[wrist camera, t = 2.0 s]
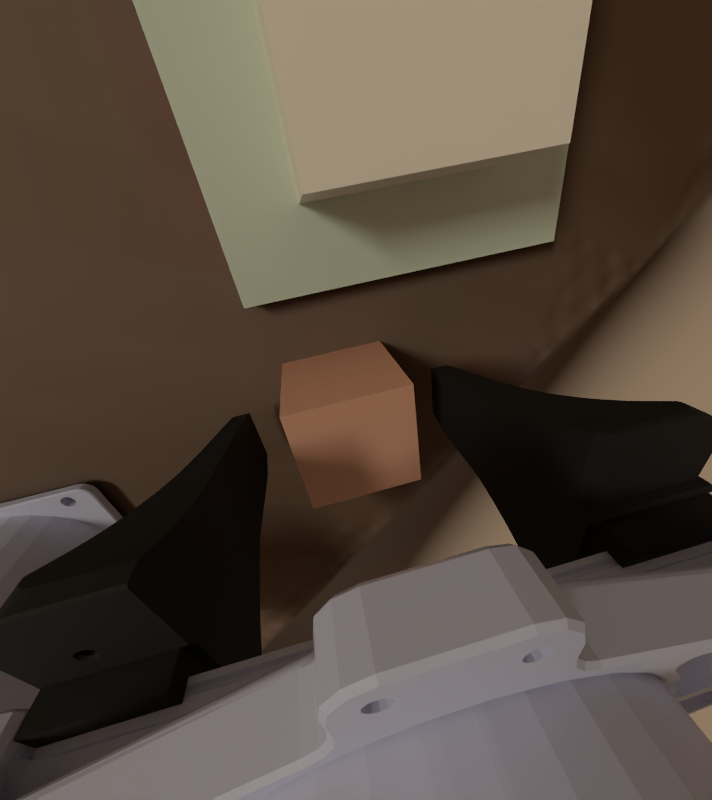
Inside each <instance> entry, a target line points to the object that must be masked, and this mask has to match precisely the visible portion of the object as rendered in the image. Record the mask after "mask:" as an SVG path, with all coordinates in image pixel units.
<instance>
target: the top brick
mask: <svg viewBox="0 0 712 800" xmlns="http://www.w3.org/2000/svg"><path fill="white" fill-rule="evenodd" d="M279 418H280V420H281V423H282V426H283V428H284V431H285V434H286V436H287V439H288V442H289V445H290V447H291V450H292V453H293V455H294V458H295V461H296V463H297V466H298V469H299V471H300V474H301V477H302V479H303V482H304V485H305V487H306V490H307V493H308V496H309V498H310V501H311V504H312V506H313V509H315V508H318V507H322V506H326V505H329V504H333V503H337V502H340V501H344V500H348V499H351V498H355V497H359V496H362V495H366V494H370V493H373V492H377V491H381V490H384V489H388V488H392V487H395V486H399V485H402V484H406V483H410V482H413V481H417V480H421V471H420V458H419V446H418V433H417V421H416V408H415V396H414V384H413V383H412V382H411V380H410V379H409V378H408V376H407V375H406V374H405V373H404V371H403V370H402V369H401V368H400V366H399V365H398V364H397V362H396V361H395V360H394V359H393V357H392V356H391V355H390V353H389V352H388V351H387V350H386V348H385V347H384V346H383V345H382V343H381V342H380V341H377V342H373V343H369V344H365V345H360V346H356V347H352V348H348V349H343V350H339V351H335V352H331V353H326V354H322V355H318V356H313V357H309V358H305V359H301V360H296V361H292V362H288V363H284V364H282V379H281V398H280V416H279Z"/></svg>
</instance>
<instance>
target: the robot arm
mask: <svg viewBox="0 0 712 800" xmlns="http://www.w3.org/2000/svg"><path fill="white" fill-rule="evenodd" d="M431 378H432V401H433V413H434V415H435V417H436V419H437V420H438V422H439V424H440V426H441V428H442V429H443V431H444V432H445V434H446V435H447V436H448V438H449V439H450V440H451V442H452V443H453V444H454V446H455V447H456V448H457V450H458V451H459V452H460V453H461V455H462V456H463V457H464V459H465V460H466V461H467V462H468V464H469V465H470V466H471V467H472V469H473V470H474V471H475V473H476V474H477V476H478V477H479V479H480V480H481V482H482V483H483V485H484V487H485V488H486V490H487V492H488V493H489V495H490V496H491V498H492V499H493V501H494V503H495V505H496V507H497V508H498V510H499V512H500V514H501V515H502V517H503V519H504V520H505V522H506V524H507V526H508V528H509V530H510V531H511V533H512V535H513V537H514V539H515V541H516V543H517V544H518V546H516V545H512V544H503V545H495V546H487V547H482V548H479V549H475V550H472V551H468V552H465V553H462V554H458V555H455V556H451V557H448V558H445V559H441V560H437V561H434V562H431V563H427V564H424V565H420V566H417V567H414V568H410V569H406V570H403V571H400V572H397V573H393V574H389V575H386V576H383V577H379V578H376V579H372V580H369V581H365V582H362V583H359V584H356V585H354V586H352V587H350V588H348V589H346V590H343V591H341V592H339V593H337V594H335V595H333V596H332V597H331V598H330V599H329V600H328V601H327V602H326V603H325V604H324V605H323V606H322V607H321V609H320V610H319V611H318V612H317V613H316V614H315V616H314V620H313V640H310V641H306V642H303V643H300V644H297V645H293V646H290V647H287V648H283V649H280V650H277V651H274V652H270V653H267V654H263V655H262V648H261V627H260V534H261V525H262V517H263V509H264V502H265V494H266V486H267V477H268V470H267V453H266V450H265V448H264V446H263V443H262V441H261V439H260V436H259V434H258V432H257V430H256V427H255V425H254V423H253V420H252V418H251V416H250V413H249V414H245V415H241V416H236V417H233V418H232V419H231V420H230V421H229V422H228V423H227V424H226V425H225V426H224V427H223V428H222V429H221V430H220V432H219V433H218V434H217V435H216V436H215V437H214V438H213V439H212V440H211V441H210V442H209V444H208V445H207V446H206V447H205V448H204V449H203V450H202V451H201V452H200V453H199V454H198V455H197V456H196V457H195V458H194V459H193V460H192V461H191V462H190V463H189V464H188V465H187V466H186V467H185V468H184V469H183V470H182V471H181V472H180V473H179V474H178V475H177V476H175V477H174V478H173V479H172V480H171V481H170V482H169V483H167V484H166V485H165V486H164V487H163V488H161V489H160V490H159V491H158V492H156V493H155V494H154V495H153V496H151V497H150V498H149V499H147V500H146V501H145V502H143V503H142V504H141V505H139V506H138V507H137V508H135V509H134V510H132V511H131V512H130V513H128V514H127V515H126V516H124V517H122V516H121V515H120V514H119V512H118V511H117V510H116V509H115V508H114V507H113V506H112V505H111V503H110V502H109V501H108V500H107V499H106V498H105V497H104V496H103V495H102V493H101V492H100V491H99V490H98V489H97V488H96V487H94V486H92V485H90V484H77V485H73V486H69V487H65V488H61V489H57V490H53V491H49V492H45V493H41V494H37V495H33V496H29V497H25V498H21V499H17V500H13V501H9V502H5V503H1V504H0V800H712V743H711V742H710V740H709V739H708V738H707V737H706V735H705V734H704V733H703V732H702V730H701V729H700V728H699V727H698V726H697V725H696V723H695V722H694V721H693V719H692V718H691V717H690V716H689V714H691V713H694V712H696V711H698V710H701V709H703V708H706V707H708V706H711V705H712V495H710V494H709V492H711V491H712V485H711V484H710V483H709V482H707V481H705V480H704V479H702V478H701V477H699V476H698V475H699V474H700V472H701V470H702V468H703V467H704V465H705V464H706V462H707V460H708V459H709V457H710V455H711V454H712V416H711V415H709V414H707V413H705V412H703V411H700V410H698V409H696V408H694V407H691V406H689V405H687V404H685V403H682V402H678V401H617V400H600V399H588V398H578V397H571V396H563V395H555V394H549V393H544V392H539V391H533V390H528V389H524V388H520V387H516V386H512V385H508V384H505V383H501V382H498V381H494V380H491V379H488V378H485V377H482V376H479V375H476V374H473V373H470V372H467V371H464V370H460V369H457V368H454V367H450V366H442V367H438V368H434V369H431Z"/></svg>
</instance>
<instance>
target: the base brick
mask: <svg viewBox="0 0 712 800" xmlns="http://www.w3.org/2000/svg"><path fill="white" fill-rule="evenodd" d="M253 4H254V9H255V13H256V17H257V22H258V26H259V31H260V35H261V39H262V44H263V48H264V53H265V57H266V62H267V66H268V70H269V75H270V79H271V84H272V88H273V92H274V97H275V101H276V106H277V110H278V114H279V119H280V123H281V128H282V132H283V137H284V141H285V145H286V150H287V154H288V159H289V163H290V167H291V172H292V176H293V181H294V185H295V189H296V194H297V198H298V203H299V204H301V203H306V202H312V201H317V200H322V199H327V198H332V197H337V196H342V195H347V194H352V193H358V192H363V191H368V190H373V189H378V188H383V187H388V186H393V185H399V184H404V183H409V182H414V181H419V180H424V179H429V178H434V177H439V176H445V175H450V174H455V173H460V172H465V171H470V170H475V169H480V168H485V167H491V166H495V165H498V164H501V163H505V162H508V161H511V160H515V159H518V158H521V157H525V156H528V155H531V154H535V153H538V152H541V151H545V150H548V149H551V148H555V147H558V146H561V145H565V144H568V143H570V141H571V134H572V128H573V121H574V115H575V109H576V102H577V96H578V89H579V83H580V77H581V70H582V64H583V57H584V51H585V45H586V38H587V32H588V26H589V19H590V13H591V6H592V0H253Z"/></svg>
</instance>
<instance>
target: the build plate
mask: <svg viewBox="0 0 712 800" xmlns="http://www.w3.org/2000/svg"><path fill="white" fill-rule="evenodd" d="M133 3H134V6H135V9H136V11H137V14H138V17H139V20H140V22H141V25H142V28H143V31H144V34H145V36H146V39H147V42H148V45H149V47H150V50H151V53H152V56H153V58H154V61H155V64H156V67H157V69H158V72H159V75H160V78H161V80H162V83H163V86H164V89H165V91H166V94H167V97H168V100H169V103H170V105H171V108H172V111H173V114H174V116H175V119H176V122H177V125H178V127H179V130H180V133H181V136H182V138H183V141H184V144H185V147H186V149H187V152H188V155H189V158H190V161H191V163H192V166H193V169H194V172H195V174H196V177H197V180H198V183H199V185H200V188H201V191H202V194H203V196H204V199H205V202H206V205H207V207H208V210H209V213H210V216H211V218H212V221H213V224H214V227H215V230H216V232H217V235H218V238H219V241H220V243H221V246H222V249H223V252H224V254H225V257H226V260H227V263H228V265H229V268H230V271H231V274H232V276H233V279H234V282H235V285H236V288H237V290H238V293H239V296H240V299H241V301H242V304H243V307H244V308H249V307H253V306H258V305H263V304H267V303H272V302H276V301H281V300H285V299H290V298H295V297H299V296H304V295H308V294H313V293H318V292H322V291H327V290H331V289H336V288H340V287H345V286H350V285H354V284H359V283H363V282H368V281H373V280H377V279H382V278H386V277H391V276H395V275H400V274H405V273H409V272H414V271H418V270H423V269H428V268H432V267H437V266H441V265H446V264H451V263H455V262H460V261H464V260H469V259H473V258H478V257H483V256H487V255H492V254H496V253H501V252H506V251H510V250H515V249H519V248H524V247H528V246H533V245H538V244H542V243H547V242H551V241H554V237H555V230H556V224H557V217H558V211H559V204H560V198H561V191H562V185H563V179H564V172H565V166H566V159H567V153H568V146H569V143H568V144H565V145H561V146H558V147H555V148H551V149H548V150H545V151H541V152H538V153H535V154H531V155H528V156H525V157H521V158H518V159H515V160H511V161H508V162H505V163H501V164H498V165H495V166H491V167H485V168H480V169H475V170H470V171H465V172H460V173H455V174H450V175H445V176H439V177H434V178H429V179H424V180H419V181H414V182H409V183H404V184H399V185H393V186H388V187H383V188H378V189H373V190H368V191H363V192H358V193H352V194H347V195H342V196H337V197H332V198H327V199H322V200H317V201H312V202H306V203H301V204H299V203H298V198H297V194H296V189H295V185H294V181H293V176H292V172H291V167H290V163H289V159H288V154H287V150H286V145H285V141H284V137H283V132H282V128H281V123H280V119H279V114H278V110H277V106H276V101H275V97H274V92H273V88H272V84H271V79H270V75H269V70H268V66H267V62H266V57H265V53H264V48H263V44H262V39H261V35H260V31H259V26H258V22H257V17H256V13H255V9H254V4H253V0H133Z"/></svg>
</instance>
